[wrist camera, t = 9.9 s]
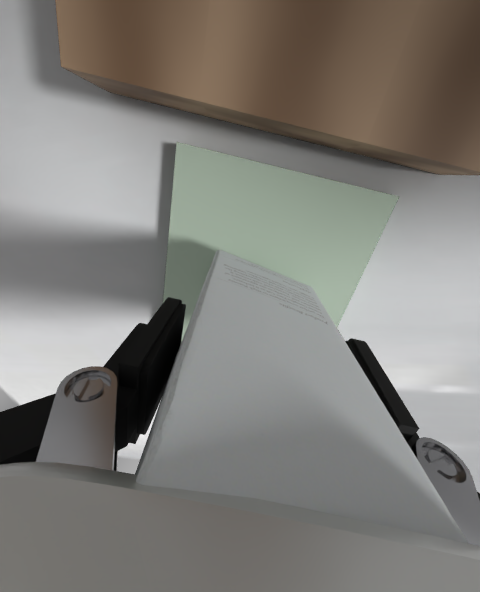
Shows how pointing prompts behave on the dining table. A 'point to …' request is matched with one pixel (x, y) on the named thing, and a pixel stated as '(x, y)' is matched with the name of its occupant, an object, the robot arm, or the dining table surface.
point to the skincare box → (282, 410)
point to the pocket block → (298, 69)
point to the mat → (269, 225)
